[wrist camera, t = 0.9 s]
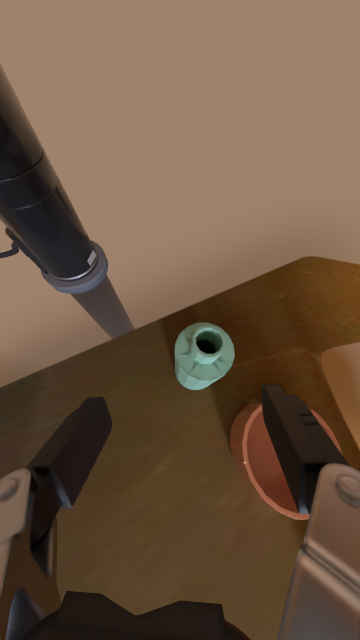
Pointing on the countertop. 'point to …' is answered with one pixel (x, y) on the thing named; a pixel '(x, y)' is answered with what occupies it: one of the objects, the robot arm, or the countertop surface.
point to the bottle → (202, 355)
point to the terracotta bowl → (264, 459)
